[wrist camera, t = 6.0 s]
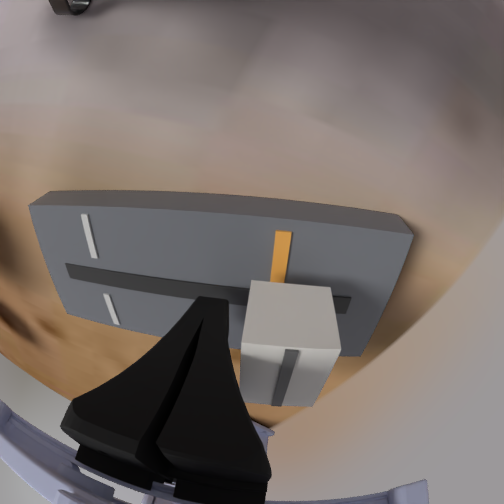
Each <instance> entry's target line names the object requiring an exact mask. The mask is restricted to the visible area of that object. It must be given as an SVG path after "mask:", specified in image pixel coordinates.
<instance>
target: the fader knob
mask: <svg viewBox="0 0 504 504" xmlns="http://www.w3.org/2000/svg"><path fill="white" fill-rule="evenodd" d="M340 351H341V344H340V338H339V332H338V326H337V320H336V314H335V309H334V303H333V298H332V293H331V288H330V287H322V286H310V285H298V284H287V283H277V282H266V281H256V280H251V286H250V292H249V298H248V305H247V311H246V317H245V323H244V329H243V335H242V341H241V363H240V388H239V389H240V392H241V395H242V398H243V401H244V402H248V403H258V404H269V405H271V406H282V405H284V406H308V407H312V406H313V405H314V403H315V401H316V399H317V397H318V396H319V394H320V392H321V390H322V388H323V386H324V384H325V382H326V380H327V378H328V376H329V374H330V372H331V370H332V368H333V366H334V364H335V362H336V360H337V358H338V356H339V354H340Z"/></svg>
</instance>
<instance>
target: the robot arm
mask: <svg viewBox="0 0 504 504" xmlns="http://www.w3.org/2000/svg"><path fill="white" fill-rule="evenodd" d="M228 336H229V301H228V300H227V299H220V298H212V297H204V296H198V297H197V298H196V299H195V301H194V302H193V303H192V305H191V306H190V307H189V308H188V310H187V311H186V312H185V313H184V315H183V316H182V317H181V318H180V319H179V320H178V322H177V323H176V324H175V325H174V326H173V327H172V328H171V329H170V331H169V332H168V333H167V334H166V335H165V336H164V337H163V338H162V339H161V340H160V341H159V342H158V343H157V344H156V345H155V346H154V347H153V348H151V349H150V350H149V351H148V352H147V353H146V354H145V355H144V356H142V357H141V358H140V359H139V360H138V361H136V362H135V363H134V364H132V365H131V366H130V367H128V368H127V369H126V370H124V371H123V372H121V373H120V374H118V375H117V376H115V377H114V378H112V379H110V380H109V381H107V382H106V383H104V384H102V385H101V386H99V387H97V388H95V389H93V390H91V391H89V392H87V393H85V394H83V395H81V396H79V397H76V398H74V399H73V400H72V402H71V403H70V405H69V407H68V409H67V411H66V413H65V416H64V418H63V420H62V422H61V425H60V427H61V429H62V430H63V431H64V432H65V433H66V434H67V435H69V436H70V437H71V438H72V439H74V440H75V441H76V442H78V443H79V444H80V446H79V449H78V451H76V450H74V449H72V448H71V447H69V446H67V445H65V444H63V443H61V442H59V441H58V440H56V439H54V438H52V437H51V436H49V435H48V434H46V433H44V432H43V431H41V430H39V429H38V428H36V427H35V426H33V425H32V424H30V423H29V422H27V421H26V420H24V419H23V418H21V417H20V416H19V415H17V414H16V413H14V412H13V411H12V410H11V409H10V408H9V407H8V406H7V405H6V404H5V403H4V402H2V401H1V400H0V457H1V459H2V460H3V461H4V462H5V463H6V464H7V465H8V466H9V467H10V468H11V469H12V470H13V471H14V472H15V473H16V474H17V475H19V476H20V477H21V478H22V479H23V480H24V481H25V482H26V483H27V484H29V485H30V486H31V487H32V488H33V489H34V490H35V491H37V492H38V493H39V494H40V495H41V496H43V497H44V498H45V499H47V500H48V501H49V502H50V503H52V504H131V503H128V502H125V501H123V500H120V499H117V498H115V497H113V494H114V491H115V489H114V488H113V487H110V486H108V485H106V484H103V483H101V482H99V481H97V480H94V479H92V478H90V477H88V476H86V475H84V474H82V473H81V472H80V469H79V467H81V468H83V469H86V470H87V471H89V472H92V473H94V474H96V475H98V476H100V477H102V478H105V479H107V480H109V481H112V482H114V483H117V484H119V485H122V486H125V487H127V488H130V489H133V490H135V491H138V492H141V493H145V495H144V497H143V499H142V502H141V504H429V497H428V487H427V480H426V479H424V480H420V481H417V482H414V483H410V484H406V485H403V486H399V487H396V488H393V489H390V490H389V491H385V492H380V493H375V494H370V495H364V496H357V497H350V498H341V499H331V500H318V501H265V496H266V492H267V484H268V481H269V479H270V478H271V475H272V474H271V467H270V464H269V461H268V458H267V443H268V436H272V435H274V433H275V432H274V431H273V430H271V429H268V428H266V427H264V426H262V425H260V424H258V423H256V422H254V421H252V420H251V418H250V416H249V414H248V411H247V408H246V406H245V403H244V401H243V398H242V395H241V392H240V389H239V386H238V383H237V380H236V376H235V372H234V369H233V364H232V360H231V355H230V350H229V343H228ZM78 466H79V467H78ZM164 482H165V483H164Z"/></svg>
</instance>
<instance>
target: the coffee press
mask: <svg viewBox="0 0 504 504" xmlns="http://www.w3.org/2000/svg"><path fill="white" fill-rule="evenodd" d="M49 2H50V4H51V6H52V8H53V11H54V12H55V13H56V14H57V15H75V16H76V15H80V14H81V13H83V12H84V11H85V10H86V9H87V8H88V6H89V4H90V2H91V0H73V3H72V5H71V7H70V6H69V3H68V1H67V0H49Z"/></svg>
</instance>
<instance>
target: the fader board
mask: <svg viewBox="0 0 504 504" xmlns="http://www.w3.org/2000/svg"><path fill="white" fill-rule="evenodd" d="M28 206H29V210H30V214H31V218H32V221H33V225H34V228H35V232H36V235H37V238H38V241H39V245H40V248H41V251H42V253H43V256H44V259H45V262H46V265H47V267H48V270H49V273H50V275H51V278H52V280H53V283H54V285H55V287H56V290H57V292H58V294H59V297H60V299H61V301H62V303H63V306H64V308H65V310H66V312H67V314H70V315H74V316H77V317H80V318H84V319H87V320H91V321H95V322H98V323H102V324H106V325H110V326H114V327H118V328H122V329H127V330H131V331H135V332H140V333H145V334H149V335H154V336H159V337H164V336H165V335H166V334H167V333H168V332H169V331H170V329H171V328H172V327H173V326H174V325H175V324H176V323H177V322H178V320H179V319H180V318H181V317H182V316H183V315H184V313H185V312H186V311H187V310H188V308H189V307H190V306H191V305H192V303H193V302H194V301H195V299H196V298H197V297H198V296H204V297H212V298H220V299H227V300H228V301H229V336H228V343H229V348H234V349H241V341H242V335H243V329H244V323H245V317H246V311H247V305H248V298H249V292H250V286H251V280H256V281H266V282H277V283H287V284H298V285H310V286H322V287H330V288H331V293H332V298H333V303H334V309H335V314H336V320H337V326H338V332H339V338H340V344H341V351H340V354H339V356H361V355H362V353H363V351H364V349H365V347H366V345H367V343H368V342H369V340H370V338H371V336H372V334H373V332H374V330H375V328H376V326H377V324H378V322H379V320H380V318H381V315H382V313H383V311H384V309H385V307H386V305H387V302H388V300H389V298H390V296H391V293H392V291H393V289H394V286H395V284H396V282H397V279H398V277H399V274H400V272H401V269H402V267H403V264H404V261H405V259H406V256H407V253H408V251H409V248H410V245H411V242H412V239H413V236H414V234H413V233H412V232H411V231H410V229H409V228H408V227H407V225H406V224H405V223H404V222H403V220H402V219H401V218H400V217H399V216H398V215H396V214H390V213H384V212H378V211H371V210H364V209H358V208H350V207H343V206H336V205H328V204H320V203H311V202H302V201H293V200H283V199H273V198H262V197H251V196H238V195H224V194H209V193H191V192H168V191H130V190H82V191H50V192H48V193H46V194H45V195H43V196H42V197H40V198H39V199H37V200H36V201H34V202H33V203H31V204H30V205H28Z"/></svg>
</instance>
